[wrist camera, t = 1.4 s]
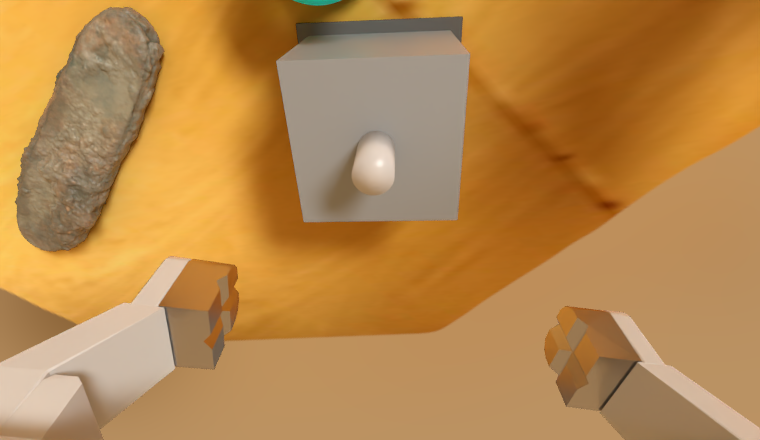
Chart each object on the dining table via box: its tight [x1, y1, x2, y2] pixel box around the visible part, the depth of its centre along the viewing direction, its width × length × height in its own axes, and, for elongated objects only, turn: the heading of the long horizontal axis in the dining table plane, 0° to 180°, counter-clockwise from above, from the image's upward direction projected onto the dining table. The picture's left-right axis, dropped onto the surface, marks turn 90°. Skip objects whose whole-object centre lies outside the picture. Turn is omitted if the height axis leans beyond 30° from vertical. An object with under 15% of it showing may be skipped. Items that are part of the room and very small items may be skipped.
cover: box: [276, 30, 470, 222], centre depth 35 cm, size 14×14×17 cm
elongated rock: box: [15, 7, 164, 251], centre depth 45 cm, size 35×5×10 cm
